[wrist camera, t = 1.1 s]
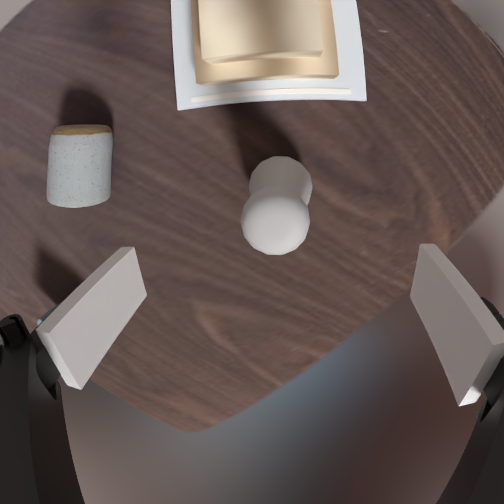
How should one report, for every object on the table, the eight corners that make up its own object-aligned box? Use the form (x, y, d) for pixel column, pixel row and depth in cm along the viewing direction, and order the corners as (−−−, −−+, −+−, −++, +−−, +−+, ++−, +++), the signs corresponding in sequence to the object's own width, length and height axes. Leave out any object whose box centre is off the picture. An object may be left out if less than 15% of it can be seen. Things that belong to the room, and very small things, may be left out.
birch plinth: (205, 86, 25) (184, 79, 19) (198, -16, 20) (179, -40, 14) (334, 79, 23) (345, 69, 18) (321, -26, 18) (327, -54, 13)
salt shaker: (321, 187, 29) (342, 239, 17) (276, 219, 31) (266, 287, 19) (286, 141, 27) (283, 159, 16) (240, 175, 29) (206, 218, 18)
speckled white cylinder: (126, 122, 28) (83, 128, 21) (123, 193, 32) (83, 215, 25) (60, 122, 29) (16, 130, 22) (59, 184, 32) (18, 202, 25)
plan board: (181, 110, 27) (177, 110, 26) (173, -20, 20) (170, -23, 19) (364, 101, 24) (366, 100, 24) (346, -34, 18) (348, -38, 17)
